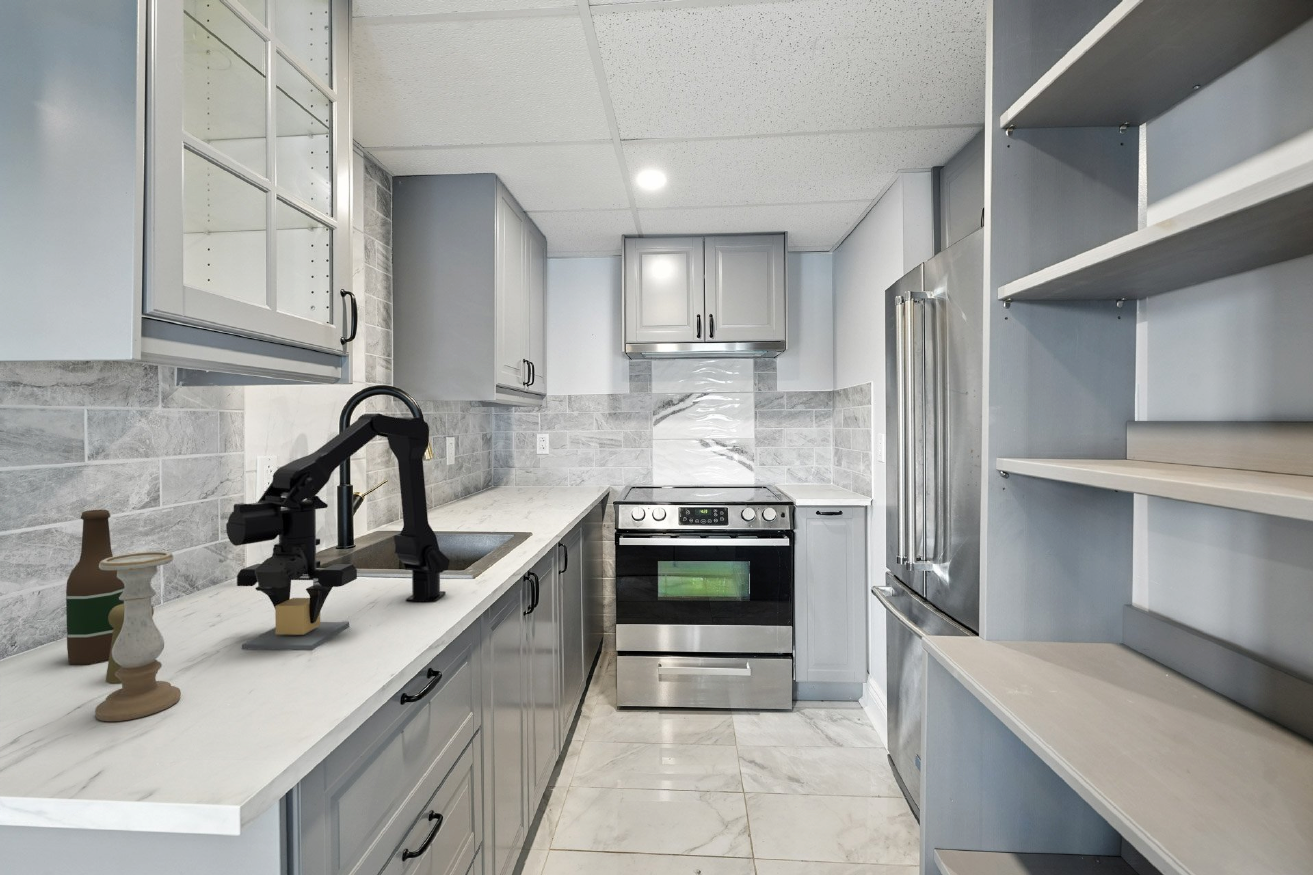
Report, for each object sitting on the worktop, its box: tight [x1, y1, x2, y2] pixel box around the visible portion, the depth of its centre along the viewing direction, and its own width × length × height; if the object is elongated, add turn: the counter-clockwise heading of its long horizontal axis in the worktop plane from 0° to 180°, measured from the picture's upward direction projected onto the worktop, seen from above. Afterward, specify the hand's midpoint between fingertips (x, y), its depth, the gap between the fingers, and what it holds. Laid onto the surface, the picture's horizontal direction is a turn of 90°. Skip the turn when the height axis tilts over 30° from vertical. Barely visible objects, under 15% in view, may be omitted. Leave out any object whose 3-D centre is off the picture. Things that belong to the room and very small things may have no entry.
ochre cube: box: [274, 597, 321, 635], centre depth 109 cm, size 5×5×5 cm
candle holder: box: [94, 551, 182, 722], centre depth 82 cm, size 9×9×20 cm
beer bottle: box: [65, 509, 125, 666], centre depth 99 cm, size 8×8×24 cm
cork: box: [105, 604, 155, 685], centre depth 92 cm, size 6×6×11 cm
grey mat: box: [241, 621, 350, 651], centre depth 109 cm, size 12×12×1 cm
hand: (298, 622), depth 109 cm, fingers closed on ochre cube, 5 cm apart
